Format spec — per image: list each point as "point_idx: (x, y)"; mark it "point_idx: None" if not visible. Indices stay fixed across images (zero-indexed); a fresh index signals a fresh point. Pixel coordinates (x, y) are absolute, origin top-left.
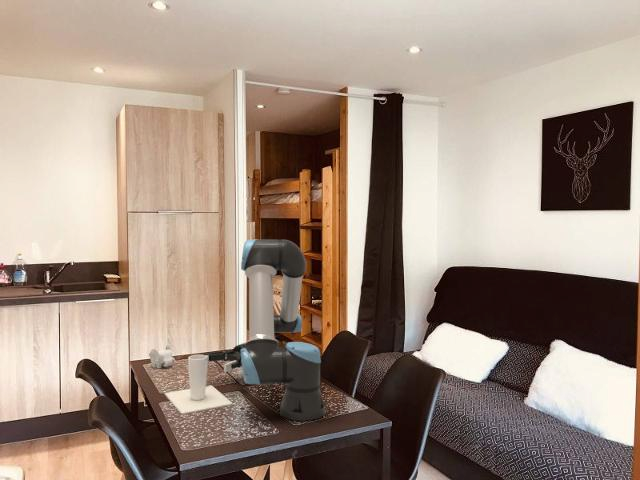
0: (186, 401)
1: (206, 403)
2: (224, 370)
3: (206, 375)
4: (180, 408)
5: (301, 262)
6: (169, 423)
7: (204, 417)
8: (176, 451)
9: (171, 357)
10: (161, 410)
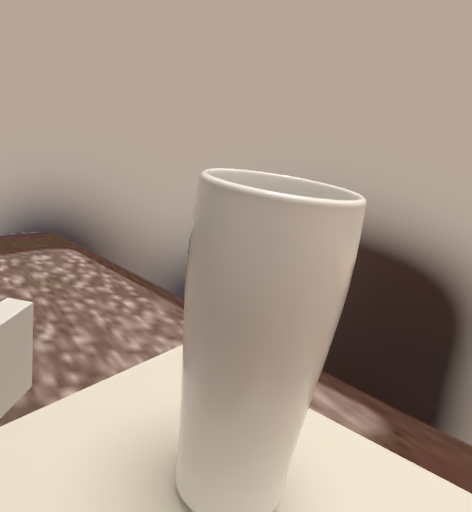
0: None
1: (122, 430)
2: (26, 369)
3: (185, 335)
4: None
5: None
6: (183, 310)
7: (74, 343)
8: (82, 247)
9: None
10: None
